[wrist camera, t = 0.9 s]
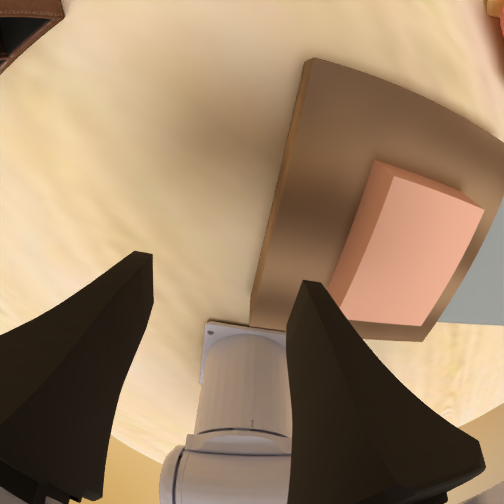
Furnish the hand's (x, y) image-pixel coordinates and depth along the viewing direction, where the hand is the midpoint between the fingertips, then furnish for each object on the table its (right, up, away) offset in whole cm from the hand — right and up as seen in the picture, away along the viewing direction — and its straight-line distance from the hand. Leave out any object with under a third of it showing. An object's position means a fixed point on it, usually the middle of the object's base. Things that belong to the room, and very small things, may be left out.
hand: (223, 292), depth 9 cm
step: (+9, +4, +9) cm, 13 cm away
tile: (+9, +2, +6) cm, 11 cm away
